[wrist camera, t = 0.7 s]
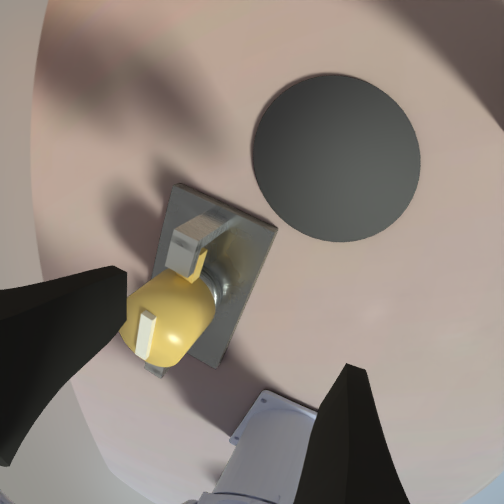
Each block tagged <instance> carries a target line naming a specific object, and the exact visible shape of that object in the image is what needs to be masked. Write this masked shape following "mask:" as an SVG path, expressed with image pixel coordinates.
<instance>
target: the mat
mask: <svg viewBox="0 0 504 504" xmlns="http://www.w3.org/2000/svg"><path fill="white" fill-rule="evenodd" d="M253 160H254V169H255V174H256V178H257V181H258V184H259V187H260V189H261V191H262V193H263V195H264V197H265V199H266V200H267V202H268V203H269V205H270V206H271V208H272V209H273V210H274V211H275V212H276V214H277V215H278V216H279V217H280V218H281V219H283V220H284V221H285V222H286V223H287V224H289V225H290V226H291V227H293V228H294V229H296V230H298V231H300V232H301V233H303V234H305V235H308V236H310V237H313V238H316V239H320V240H324V241H331V242H350V241H357V240H361V239H365V238H368V237H370V236H373V235H375V234H377V233H379V232H381V231H383V230H384V229H386V228H387V227H389V226H390V225H391V224H393V223H394V222H395V221H396V220H397V219H398V218H399V217H400V216H401V214H402V213H403V212H404V211H405V209H406V208H407V207H408V205H409V203H410V201H411V200H412V198H413V195H414V193H415V191H416V188H417V184H418V180H419V175H420V150H419V144H418V141H417V137H416V134H415V131H414V129H413V127H412V125H411V123H410V121H409V119H408V118H407V116H406V114H405V113H404V111H403V110H402V109H401V108H400V107H399V105H398V104H397V103H396V102H395V101H394V100H393V99H392V98H391V97H389V96H388V95H387V94H386V93H384V92H383V91H381V90H380V89H379V88H377V87H375V86H373V85H371V84H369V83H367V82H364V81H361V80H359V79H355V78H351V77H346V76H321V77H316V78H311V79H308V80H305V81H302V82H300V83H298V84H296V85H294V86H292V87H291V88H289V89H288V90H286V91H285V92H283V93H282V94H281V95H280V96H279V97H278V98H277V99H276V100H275V101H274V102H273V103H272V104H271V106H270V107H269V108H268V109H267V111H266V113H265V114H264V116H263V118H262V120H261V122H260V124H259V126H258V129H257V133H256V136H255V142H254V151H253Z"/></svg>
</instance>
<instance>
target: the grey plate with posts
mask: <svg viewBox="0 0 504 504" xmlns="http://www.w3.org/2000/svg"><path fill="white" fill-rule="evenodd" d="M277 231H278V228H276V227H274V226H272V225H270V224H268V223H265V222H263V221H261V220H259V219H257V218H255V217H253V216H251V215H249V214H246V213H244V212H242V211H240V210H238V209H236V208H234V207H231V206H229V205H227V204H225V203H223V202H221V201H218V200H216V199H214V198H212V197H210V196H208V195H205V194H203V193H201V192H199V191H197V190H194V189H192V188H190V187H188V186H186V185H183V184H181V183H178V184H175V185H173V188H172V192H171V195H170V199H169V203H168V207H167V211H166V215H165V219H164V223H163V228H162V232H161V236H160V240H159V245H158V249H157V254H156V258H155V263H154V268H153V273H152V278H151V279H153V278H154V277H156V276H157V275H158V274H160V273H161V272H162V271H164V270H166V269H168V268H170V269H171V270H173V271H175V272H177V273H179V274H180V275H182V276H184V277H186V278H188V277H189V276H191V275H192V274H193V273H194V270H195V267H196V264H197V260H198V257H199V254H200V251H201V248H203V247H204V248H205V249H207V254H206V257H205V260H204V263H203V266H202V269H201V273H200V276H199V278H200V279H201V280H203V282H204V283H205V284H206V285H207V287H208V288H209V290H210V291H211V293H212V296H213V298H214V302H215V315H214V318H213V320H212V322H211V323H210V324H209V325H208V327H207V328H206V329H205V330H204V331H203V333H202V334H201V335H200V336H199V338H198V339H197V340H196V341H195V342H194V344H193V345H192V346H191V347H190V348H189V350H188V351H187V352H186V353H188V354H190V355H191V356H193V357H195V358H196V359H198V360H200V361H202V362H204V363H205V364H207V365H209V366H211V367H213V368H214V369H217V367H218V366H219V364H220V363H221V360H222V358H223V356H224V354H225V351H226V349H227V347H228V344H229V342H230V340H231V338H232V335H233V333H234V331H235V329H236V326H237V324H238V322H239V319H240V317H241V315H242V313H243V310H244V308H245V306H246V303H247V301H248V299H249V296H250V294H251V292H252V290H253V287H254V285H255V283H256V280H257V278H258V276H259V273H260V271H261V269H262V266H263V264H264V262H265V259H266V257H267V255H268V252H269V250H270V248H271V245H272V243H273V241H274V238H275V236H276V234H277ZM144 368H145V369H146V370H148V371H149V372H151V373H152V374H154V375H156V376H157V377H159V378H160V379H161V378H162V377H163V376H164V375H165V373H166V372H167V371H168V370H169V369H170V368H171V366H170V367H159V366H155V365H152V364H150V363H148V362H146V361H145V366H144Z"/></svg>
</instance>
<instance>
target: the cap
mask: <svg viewBox="0 0 504 504" xmlns="http://www.w3.org/2000/svg"><path fill="white" fill-rule="evenodd" d="M206 254H207V249H205V248H204V247H203V248H201V251H200V254H199V257H198V260H197V264H196V267H195V270H194V273H193V274H192V275H191V276H189V277H188V278H186V277H184V276H182V275H180V274H179V273H177V272H175V271H173V270H171V269H170V268H168V269H166V270H164V271H162V272H161V273H160V274H158V275H157V276H156V277H154V278H153V279H151V280H150V281H149V282H147V283H146V284H145V285H143V286H142V287H141V288H139V289H138V290H137V291H135V292H134V293H133V294H131V295H130V296H129V297H127V321H126V322H125V323H124V325H123V326H122V327H121V328H120V330H119V332H120V335H121V336H122V338H123V340H124V341H125V343H126V344H127V346H128V347H129V348H130V349H131V350H132V351H133V352H134V353H135V354H136V355H137V356H139V357H140V358H141V359H143V360H144V361H146V362H148V363H150V364H152V365H155V366H159V367H170V366H173V365H175V364H177V363H178V362H179V361H180V359H181V358H182V357H183V356H184V355H185V353H186V352H187V351H188V350H189V348H190V347H191V346H192V345H193V344H194V342H195V341H196V340H197V339H198V338H199V336H200V335H201V334H202V333H203V331H204V330H205V329H206V328H207V327H208V325H209V324H210V323H211V322H212V320H213V318H214V315H215V302H214V298H213V296H212V293H211V291H210V290H209V288H208V287H207V285H206V284H205V283H204V282H203V280H201V279H200V278H199V276H200V273H201V269H202V266H203V263H204V260H205V257H206Z"/></svg>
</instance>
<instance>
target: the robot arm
mask: <svg viewBox="0 0 504 504" xmlns="http://www.w3.org/2000/svg"><path fill="white" fill-rule="evenodd" d="M126 321H127V272H125V271H123V270H121V269H119V268H117V267H115V266H107V267H102V268H98V269H93V270H89V271H85V272H82V273H78V274H74V275H70V276H66V277H62V278H58V279H54V280H50V281H46V282H42V283H37V284H32V285H28V286H23V287H18V288H12V289H4V290H0V466H4V467H7V466H10V464H11V462H12V460H13V458H14V456H15V454H16V452H17V450H18V448H19V447H20V445H21V443H22V441H23V440H24V438H25V436H26V435H27V433H28V432H29V430H30V428H31V427H32V425H33V424H34V422H35V421H36V419H37V418H38V417H39V415H40V414H41V413H42V411H43V409H44V408H45V407H46V406H47V404H48V403H49V402H50V401H51V400H52V398H53V397H54V396H55V395H56V393H57V392H58V391H59V389H60V388H61V387H62V386H63V385H64V384H65V383H66V382H67V381H68V380H69V379H70V378H71V377H72V376H73V375H75V374H76V373H77V372H78V371H79V370H80V369H81V368H82V367H83V366H84V365H85V364H86V363H87V362H88V361H90V360H91V359H92V358H93V357H94V356H95V355H96V354H97V353H98V352H99V351H100V350H101V349H102V348H103V347H105V346H106V345H107V344H108V343H109V342H110V341H111V339H112V338H113V337H114V336H115V335H116V333H117V332H118V331H119V330H120V328H121V327H122V326H123V325H124V323H125V322H126ZM265 399H266V400H265ZM229 442H230V443H231V444H233V445H235V446H236V448H235V450H234V452H233V454H232V456H231V458H230V459H229V461H228V463H227V465H226V467H225V469H224V471H223V473H222V475H221V477H220V479H219V481H218V483H217V484H216V486H215V488H214V490H213V492H212V493H208V492H203V494H202V495H201V497H200V499H199V501H197V500H188V501H186V502H184V503H182V504H410V502H409V500H408V498H407V496H406V494H405V491H404V489H403V487H402V484H401V482H400V480H399V477H398V475H397V472H396V469H395V467H394V464H393V461H392V458H391V455H390V452H389V450H388V446H387V443H386V440H385V437H384V434H383V430H382V427H381V424H380V420H379V417H378V413H377V410H376V406H375V402H374V398H373V395H372V391H371V387H370V383H369V379H368V375H367V372H366V370H365V369H362V368H359V367H356V366H353V365H350V364H347V363H346V365H345V366H344V368H343V370H342V371H341V373H340V375H339V376H338V378H337V380H336V381H335V383H334V384H333V386H332V388H331V389H330V391H329V392H328V394H327V395H326V397H325V399H324V400H323V402H322V403H321V405H320V407H319V410H318V413H317V412H315V411H312V410H310V409H308V408H306V407H303V406H301V405H299V404H297V403H294V402H292V401H290V400H288V399H286V398H284V397H281V396H279V395H277V394H275V393H273V392H271V391H268V390H263V391H262V392H261V393H260V395H259V396H258V398H257V399H256V401H255V402H254V404H253V405H252V407H251V408H250V410H249V411H248V413H247V414H246V416H245V417H244V419H243V420H242V422H241V423H240V425H239V426H238V427H237V429H236V430H235V432H234V433H233V435H232V436H231V437H230V439H229ZM0 504H14V503H13V502H12V501H11V500H10V499H9V498H8V497H7V496H6V495H5V494H4V493H3V492H2V491H1V490H0Z"/></svg>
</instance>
